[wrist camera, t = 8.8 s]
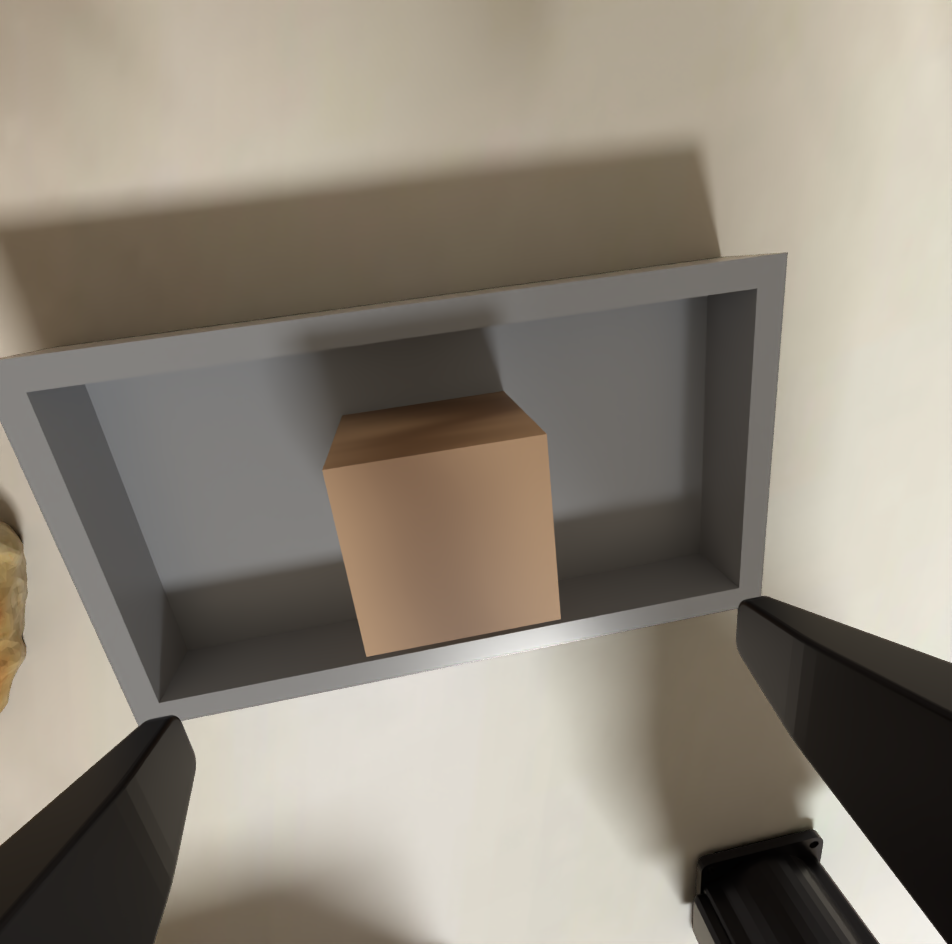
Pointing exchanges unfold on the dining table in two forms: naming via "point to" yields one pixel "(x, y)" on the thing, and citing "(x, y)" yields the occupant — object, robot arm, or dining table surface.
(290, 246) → the dining table surface
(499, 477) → the walnut block
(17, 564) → the pastry
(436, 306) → the grey tray
